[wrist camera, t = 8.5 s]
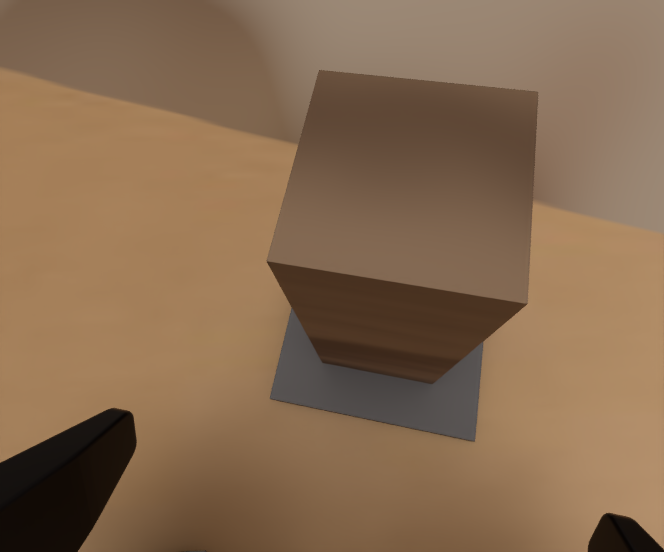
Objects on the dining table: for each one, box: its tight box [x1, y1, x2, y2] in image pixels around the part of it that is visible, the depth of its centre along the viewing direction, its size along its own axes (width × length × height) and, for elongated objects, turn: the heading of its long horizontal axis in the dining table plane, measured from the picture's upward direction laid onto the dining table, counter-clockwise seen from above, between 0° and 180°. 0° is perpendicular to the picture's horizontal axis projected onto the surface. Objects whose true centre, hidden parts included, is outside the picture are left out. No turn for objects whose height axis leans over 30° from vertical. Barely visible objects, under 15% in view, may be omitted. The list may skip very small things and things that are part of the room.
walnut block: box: [267, 70, 538, 384], centre depth 15 cm, size 5×5×12 cm
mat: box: [270, 309, 483, 441], centre depth 20 cm, size 9×9×1 cm
